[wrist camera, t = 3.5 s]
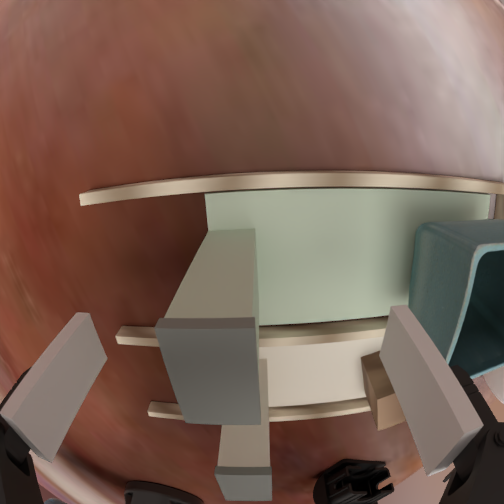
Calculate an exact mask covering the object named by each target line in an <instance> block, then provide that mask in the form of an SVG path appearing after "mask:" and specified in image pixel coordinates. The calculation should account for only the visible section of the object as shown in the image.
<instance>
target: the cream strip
mask: <svg viewBox="0 0 504 504" xmlns="http://www.w3.org/2000/svg"><path fill="white" fill-rule="evenodd" d="M383 339H384V337H376V338H369V339H361V340H352V341H343V342H333V343H321V344H309V345H295V346H277V347H259V391H260V407H261V425H222V430H221V439H220V448H219V456H218V465H217V466H215V473H214V474H215V477H216V479H217V482H218V484H219V486H220V488H221V491H222V493H223V495H224V497H225V499H226V500H231V501H272V467H270V444H269V407H277V406H294V405H306V404H317V403H326V402H335V401H342V400H350V399H356V398H363V397H366V395H365V392H364V382H363V373H362V365H361V357H362V356H365V355H368V354H371V353H374V352H377V351H380V350H381V347H382V343H383Z"/></svg>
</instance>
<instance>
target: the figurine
mask: <svg viewBox="0 0 504 504" xmlns="http://www.w3.org/2000/svg"><path fill="white" fill-rule="evenodd" d="M483 376H484V379H485V381H486V383H487V385H488V386H489V388H490V389H491V391H492V392H493V394H494V395H495V396H496V397H497V399H498V400H499V401H501V402H502V403H503V404H504V366H503V367H500V368H498V369H496V370H493V371H491V372H488V373H486V374H484V375H483Z"/></svg>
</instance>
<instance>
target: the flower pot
mask: <svg viewBox="0 0 504 504" xmlns="http://www.w3.org/2000/svg"><path fill="white" fill-rule="evenodd" d="M408 308H409V309H410V310H411V312H412V313H413V314H414V316H415V317H416V319H417V320H418V321H419V323H420V324H421V326H422V327H423V328H424V330H425V331H426V333H427V334H428V336H429V337H430V338H431V340H432V341H433V343H434V344H435V346H436V347H437V349H438V350H439V352H440V353H441V355H442V356H443V358H444V359H445V361H446V362H447V364H448V366H449V367H451V366H455V365H458V366H460V367H461V368H462V369H463V370H465V371H466V372H467V373H468V374H469V376H470V377H471V379H474V378H476V377H479V376H481V375H484V374H486V373H488V372H491V371H493V370H496V369H498V368H500V367H503V366H504V220H502V219H484V220H466V221H442V222H426V223H423V224H421V225H420V226H419V227H418V228H417V230H416V233H415V244H414V255H413V264H412V271H411V278H410V284H409V300H408Z"/></svg>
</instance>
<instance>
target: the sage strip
mask: <svg viewBox="0 0 504 504" xmlns="http://www.w3.org/2000/svg"><path fill="white" fill-rule="evenodd" d="M205 202H206V213H207V223H208V233H207V234H206V236H205V238H204V240H203V242H202V244H201V246H200V248H199V250H198V251H197V253H196V255H195V257H194V259H193V261H192V263H191V265H190V267H189V269H188V271H187V273H186V275H185V277H184V279H183V280H182V282H181V284H180V286H179V288H178V290H177V292H176V294H175V296H174V298H173V300H172V302H171V304H170V306H169V309H168V311H167V313H166V315H165V317H164V318H159V320H158V322H157V324H156V326H155V328H154V329H155V333H156V336H157V340H158V343H159V347H160V350H161V353H162V357H163V360H164V363H165V366H166V369H167V372H168V375H169V378H170V381H171V384H172V387H173V390H174V393H175V396H176V399H177V401H178V404H179V407H180V410H181V412H182V415H183V418H184V420H185V423H194V424H212V425H261V407H260V391H259V325H279V324H297V323H312V322H326V321H338V320H349V319H359V318H368V317H377V316H386V315H389V312H390V308H391V306H398V305H407V306H408V300H409V284H410V278H411V271H412V264H413V255H414V244H415V233H416V230H417V228H418V227H419V226H420V225H421V224H423V223H426V222H442V221H466V220H484V219H488V213H489V205H490V195H489V194H485V193H474V192H461V191H447V190H429V189H406V188H362V187H329V188H283V189H259V190H240V191H224V192H209V193H205Z"/></svg>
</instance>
